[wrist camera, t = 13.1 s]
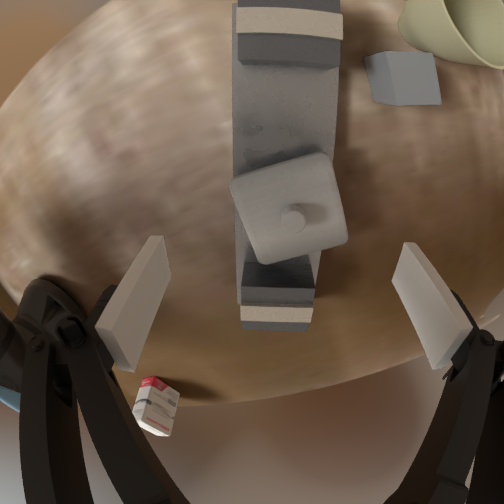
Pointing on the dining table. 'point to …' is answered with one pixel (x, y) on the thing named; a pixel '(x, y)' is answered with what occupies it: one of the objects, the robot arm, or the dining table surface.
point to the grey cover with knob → (291, 208)
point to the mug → (456, 30)
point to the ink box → (156, 406)
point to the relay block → (403, 78)
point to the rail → (281, 134)
